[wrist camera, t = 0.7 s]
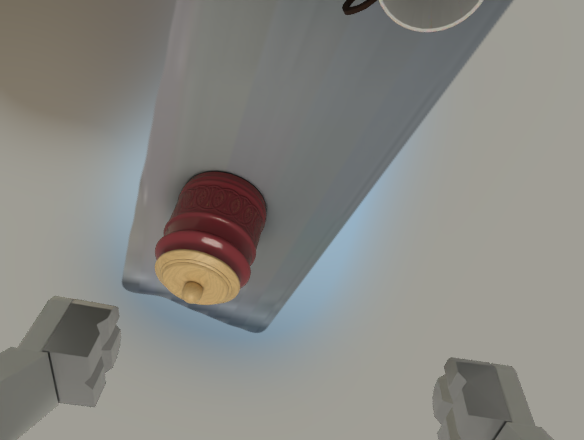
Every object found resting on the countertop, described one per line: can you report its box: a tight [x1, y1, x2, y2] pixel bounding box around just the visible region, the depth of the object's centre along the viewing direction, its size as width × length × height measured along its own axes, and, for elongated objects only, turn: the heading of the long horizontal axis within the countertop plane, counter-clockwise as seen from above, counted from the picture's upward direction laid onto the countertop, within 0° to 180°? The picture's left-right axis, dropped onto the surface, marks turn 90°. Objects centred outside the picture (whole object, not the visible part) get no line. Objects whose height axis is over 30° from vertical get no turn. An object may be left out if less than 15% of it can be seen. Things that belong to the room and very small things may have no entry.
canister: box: [155, 172, 266, 305], centre depth 69 cm, size 13×13×18 cm
